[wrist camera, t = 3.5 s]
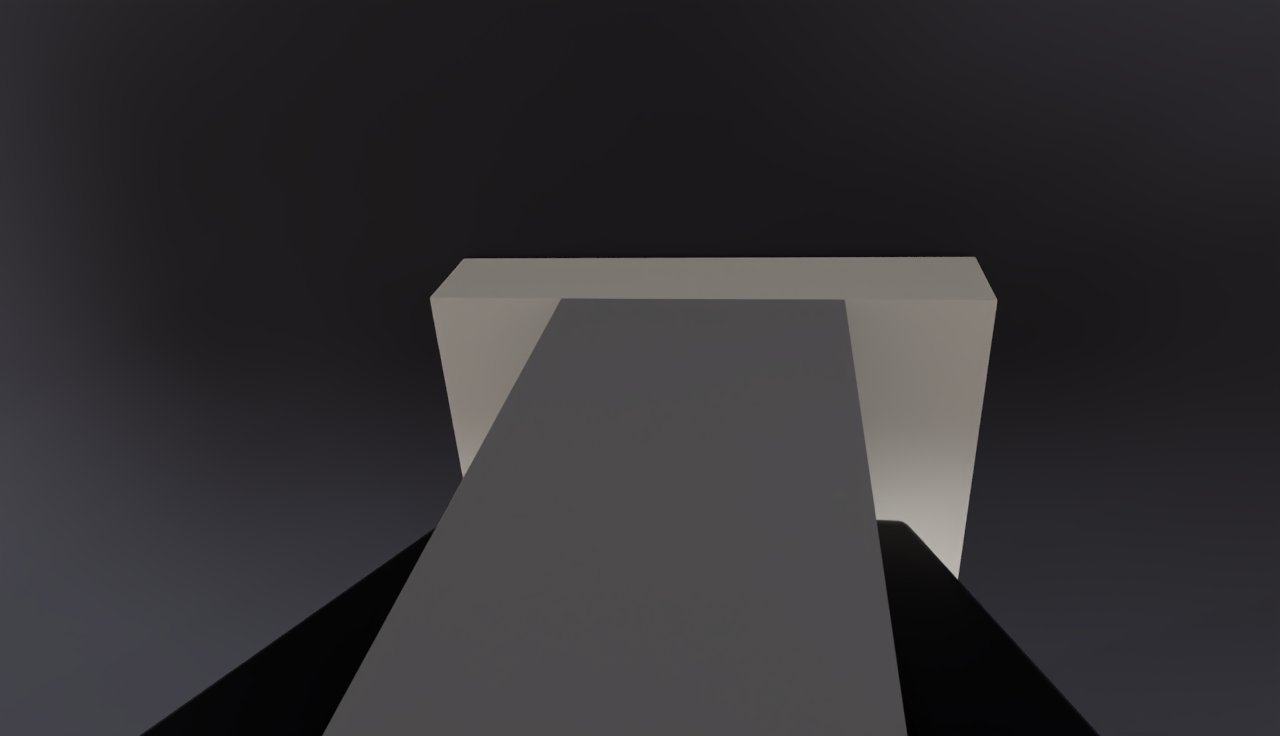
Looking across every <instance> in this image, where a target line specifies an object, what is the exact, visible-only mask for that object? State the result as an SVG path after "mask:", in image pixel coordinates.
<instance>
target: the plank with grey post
mask: <svg viewBox="0 0 1280 736" xmlns="http://www.w3.org/2000/svg"><path fill="white" fill-rule="evenodd" d="M430 302H431V308H432V313H433V318H434V324H435V329H436V335H437V340H438V346H439V351H440V356H441V362H442V367H443V373H444V378H445V383H446V389H447V394H448V400H449V405H450V411H451V416H452V421H453V427H454V432H455V438H456V443H457V448H458V454H459V459H460V465H461V470H462V476H463V479H462V481H461V483H460V485H459V487H458V488H457V490H456V492H455V494H454V496H453V498H452V499H451V501H450V503H449V505H448V507H447V509H446V510H445V512H444V514H443V516H442V518H441V520H440V521H439V523H438V525H437V527H436V529H435V531H434V532H433V534H432V536H431V538H430V540H429V541H428V543H427V545H426V547H425V549H424V551H423V552H422V554H421V556H420V558H419V560H418V562H417V563H416V565H415V567H414V569H413V571H412V573H411V574H410V576H409V578H408V580H407V582H406V584H405V585H404V587H403V589H402V591H401V593H400V595H399V596H398V598H397V600H396V602H395V604H394V606H393V607H392V609H391V611H390V613H389V615H388V616H387V618H386V620H385V622H384V624H383V626H382V627H381V629H380V631H379V633H378V635H377V637H376V638H375V640H374V642H373V644H372V646H371V648H370V649H369V651H368V653H367V655H366V657H365V659H364V660H363V662H362V664H361V666H360V668H359V670H358V671H357V673H356V675H355V677H354V679H353V681H352V682H351V684H350V686H349V688H348V690H347V691H346V693H345V695H344V697H343V699H342V701H341V702H340V704H339V706H338V708H337V710H336V712H335V713H334V715H333V717H332V719H331V721H330V723H329V724H328V726H327V728H326V730H325V732H324V734H323V735H322V736H907V730H906V723H905V716H904V709H903V702H902V695H901V688H900V681H899V674H898V667H897V660H896V654H895V647H894V640H893V633H892V626H891V619H890V612H889V605H888V598H887V591H886V584H885V577H884V570H883V563H882V556H881V549H880V542H879V535H878V528H877V521H876V520H898V521H903V522H904V523H906V524H908V525H909V526H910V527H911V529H912V530H913V531H914V532H915V533H916V534H917V535H918V536H919V537H920V538H921V540H922V541H923V542H924V543H925V544H926V545H927V546H928V547H929V548H930V549H931V550H932V552H933V553H934V554H935V555H936V556H937V557H938V558H939V559H940V560H941V561H942V563H943V564H944V565H945V566H946V567H947V568H948V569H949V570H950V571H951V572H952V574H953V575H954V576H955V577H956V578H957V579H958V575H959V568H960V560H961V553H962V546H963V539H964V532H965V525H966V518H967V511H968V504H969V497H970V490H971V483H972V476H973V469H974V462H975V455H976V448H977V441H978V434H979V427H980V419H981V412H982V405H983V398H984V391H985V384H986V377H987V370H988V363H989V356H990V349H991V342H992V335H993V328H994V321H995V314H996V307H997V298H996V296H995V294H994V292H993V291H992V289H991V287H990V285H989V283H988V281H987V279H986V277H985V275H984V273H983V271H982V269H981V267H980V265H979V263H978V261H977V259H976V257H788V258H473V259H463V260H462V261H461V262H460V264H459V265H458V266H457V267H456V268H455V269H454V270H453V272H452V273H451V274H450V275H449V276H448V277H447V279H446V280H445V281H444V282H443V283H442V284H441V285H440V287H439V288H438V289H437V290H436V291H435V292H434V293H433V295H432V296H431V297H430Z"/></svg>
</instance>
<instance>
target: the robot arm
mask: <svg viewBox="0 0 1280 736" xmlns="http://www.w3.org/2000/svg"><path fill="white" fill-rule="evenodd" d="M876 521H877V528H878V535H879V542H880V549H881V556H882V563H883V570H884V577H885V584H886V591H887V598H888V605H889V612H890V619H891V626H892V633H893V640H894V647H895V654H896V660H897V667H898V674H899V681H900V688H901V695H902V702H903V709H904V716H905V723H906V730H907V736H1100V735H1099V734H1098V733H1097V732H1096V731H1095V730H1094V729H1093V727H1092V726H1091V725H1090V724H1089V723H1088V722H1087V721H1086V720H1085V719H1084V718H1083V716H1082V715H1081V714H1080V713H1079V712H1078V711H1077V710H1076V709H1075V708H1074V707H1073V705H1072V704H1071V703H1070V702H1069V701H1068V700H1067V699H1066V698H1065V697H1064V696H1063V694H1062V693H1061V692H1060V691H1059V690H1058V689H1057V688H1056V687H1055V686H1054V685H1053V683H1052V682H1051V681H1050V680H1049V679H1048V678H1047V677H1046V676H1045V675H1044V674H1043V672H1042V671H1041V670H1040V669H1039V668H1038V667H1037V666H1036V665H1035V664H1034V663H1033V661H1032V660H1031V659H1030V658H1029V657H1028V656H1027V655H1026V654H1025V653H1024V652H1023V651H1022V649H1021V648H1020V647H1019V646H1018V645H1017V644H1016V643H1015V642H1014V641H1013V640H1012V638H1011V637H1010V636H1009V635H1008V634H1007V633H1006V632H1005V631H1004V630H1003V629H1002V627H1001V626H1000V625H999V624H998V623H997V622H996V621H995V620H994V619H993V618H992V616H991V615H990V614H989V613H988V612H987V611H986V610H985V609H984V608H983V607H982V605H981V604H980V603H979V602H978V601H977V600H976V599H975V598H974V597H973V596H972V594H971V593H970V592H969V591H968V590H967V589H966V588H965V587H964V586H963V585H962V583H961V582H960V581H959V580H958V579H957V578H956V577H955V576H954V575H953V574H952V572H951V571H950V570H949V569H948V568H947V567H946V566H945V565H944V564H943V563H942V561H941V560H940V559H939V558H938V557H937V556H936V555H935V554H934V553H933V552H932V550H931V549H930V548H929V547H928V546H927V545H926V544H925V543H924V542H923V541H922V540H921V538H920V537H919V536H918V535H917V534H916V533H915V532H914V531H913V530H912V529H911V527H910V526H909V525H908V524H906V523H904V522H903V521H898V520H876ZM435 529H436V528H434V529H433V530H431V531H430V532H428V533H427V534H426V535H424V536H423V537H421V538H420V539H419V540H417V541H416V542H414V543H413V544H411V545H410V546H409V547H407V548H406V549H404V550H403V551H401V552H400V553H399V554H397V555H396V556H394V557H393V558H392V559H390V560H389V561H387V562H386V563H384V564H383V565H382V566H380V567H379V568H377V569H376V570H374V571H373V572H372V573H370V574H369V575H367V576H366V577H365V578H363V579H362V580H360V581H359V582H357V583H356V584H355V585H353V586H352V587H350V588H349V589H347V590H346V591H345V592H343V593H342V594H340V595H339V596H337V597H336V598H335V599H333V600H332V601H330V602H329V603H328V604H326V605H325V606H323V607H322V608H320V609H319V610H318V611H316V612H315V613H313V614H312V615H310V616H309V617H308V618H306V619H305V620H303V621H302V622H301V623H299V624H298V625H296V626H295V627H293V628H292V629H291V630H289V631H288V632H286V633H285V634H283V635H282V636H281V637H279V638H278V639H276V640H275V641H274V642H272V643H271V644H269V645H268V646H266V647H265V648H264V649H262V650H261V651H259V652H258V653H256V654H255V655H254V656H252V657H251V658H249V659H248V660H247V661H245V662H244V663H242V664H241V665H239V666H238V667H237V668H235V669H234V670H232V671H231V672H229V673H228V674H227V675H225V676H224V677H222V678H221V679H220V680H218V681H217V682H215V683H214V684H212V685H211V686H210V687H208V688H207V689H205V690H204V691H202V692H201V693H200V694H198V695H197V696H195V697H194V698H193V699H191V700H190V701H188V702H187V703H185V704H184V705H183V706H181V707H180V708H178V709H177V710H175V711H174V712H173V713H171V714H170V715H168V716H167V717H165V718H164V719H163V720H161V721H160V722H158V723H157V724H155V725H154V726H153V727H151V728H150V729H148V730H147V731H145V732H144V733H143V734H141V735H140V736H322V735H323V734H324V732H325V730H326V728H327V726H328V724H329V723H330V721H331V719H332V717H333V715H334V713H335V712H336V710H337V708H338V706H339V704H340V702H341V701H342V699H343V697H344V695H345V693H346V691H347V690H348V688H349V686H350V684H351V682H352V681H353V679H354V677H355V675H356V673H357V671H358V670H359V668H360V666H361V664H362V662H363V660H364V659H365V657H366V655H367V653H368V651H369V649H370V648H371V646H372V644H373V642H374V640H375V638H376V637H377V635H378V633H379V631H380V629H381V627H382V626H383V624H384V622H385V620H386V618H387V616H388V615H389V613H390V611H391V609H392V607H393V606H394V604H395V602H396V600H397V598H398V596H399V595H400V593H401V591H402V589H403V587H404V585H405V584H406V582H407V580H408V578H409V576H410V574H411V573H412V571H413V569H414V567H415V565H416V563H417V562H418V560H419V558H420V556H421V554H422V552H423V551H424V549H425V547H426V545H427V543H428V541H429V540H430V538H431V536H432V534H433V532H434V531H435Z"/></svg>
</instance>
